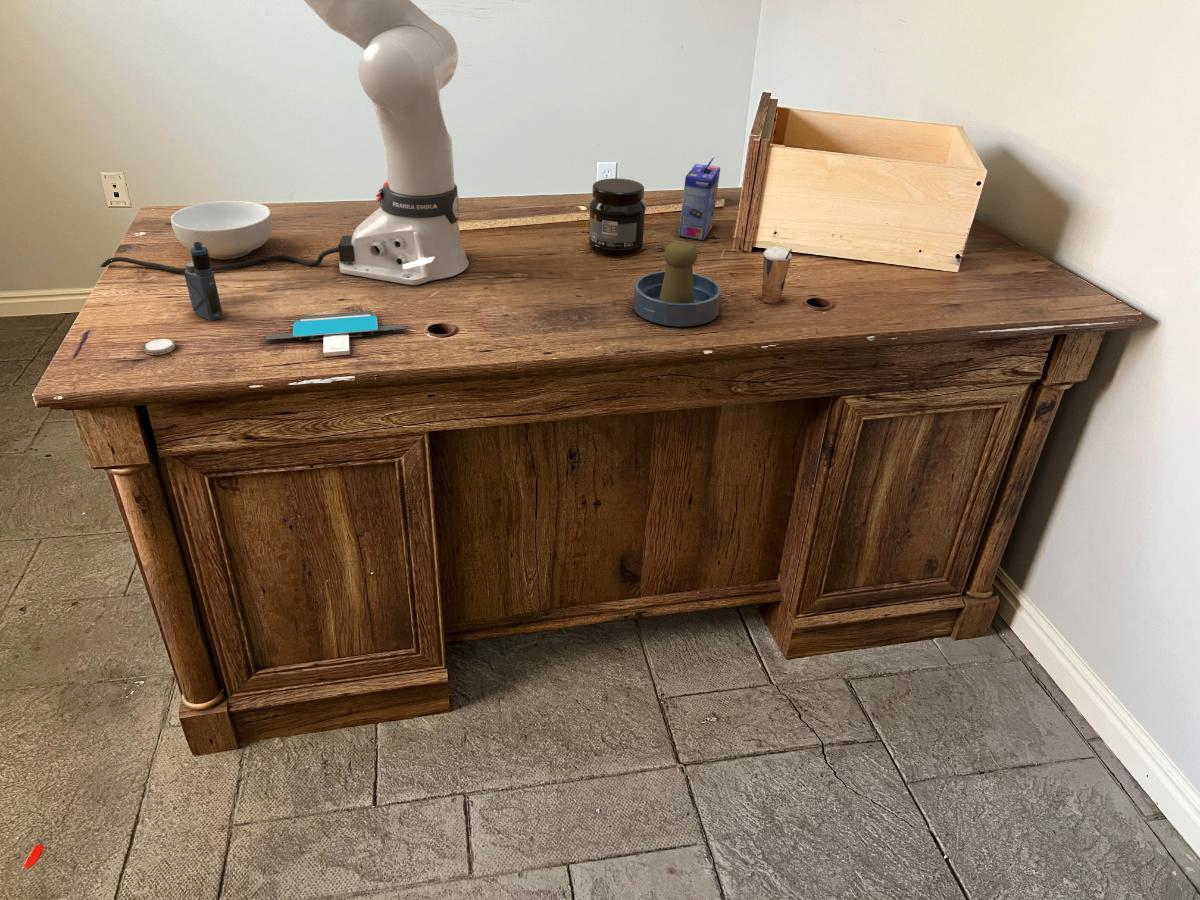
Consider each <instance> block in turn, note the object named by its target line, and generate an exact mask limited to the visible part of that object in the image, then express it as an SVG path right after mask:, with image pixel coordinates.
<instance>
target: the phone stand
mask: <svg viewBox="0 0 1200 900" xmlns="http://www.w3.org/2000/svg"><path fill="white" fill-rule="evenodd" d="M402 333H403V334H404V333H405V325H404V324H403V323H401V324H391V325H389V324H388V325H387V324H386V325H379V323H378V317H377V315H373V312H372V310H364V311H350V312H337V313H324V314H311V315H309V314H308V315H299V316H298V320H296V321H294V322H293V329H292V332H286V333H276V334H275V333H274V334H266V335H265V340H266V344H277V343H278V344H283V343H284V344H285V343H296V342H297V343H298V342H309V341H320V340H323V343H322V344H323V345H322V346H323V347H322V348H323V349H322V350H323V352H322V354H323V358H325V357H335V356H349V355H351V351H350V338H359V337H360V338H361V337H370V336H371V337H372V336H383V335H385V336H386V335H394V334H402ZM280 346H281V345H279V347H280Z"/></svg>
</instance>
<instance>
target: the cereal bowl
mask: <svg viewBox="0 0 1200 900" xmlns="http://www.w3.org/2000/svg"><path fill="white" fill-rule="evenodd" d="M170 224H171V228H172V231H173V234H174V236H175V237H176V239H177V241H178V242H179V243H180V244H181V245H182V246H183V247H184V248H186V249H188V250H189V251H190V249H192V248H194V244H193V243H195V242H201V244H202V247H206V248H207V250H208V253H207V254H209V259H210V258H211V259H214V260H232V259H238V258H242V257H245V256H247V255H249V254H250V253H251V252H253V251H254V250H257V249H258V248H260V247H262V246H263V245H265V244H266V242H267V241H268V240H269V239H270V237H271V235H272V233H273V216H272V211H271V209H270V208H269V207H268V206H266V205H265V204H261V203H258V202H253V201H245V200H216V201H215V200H214V201H208V202H200V203H196V204H192V205H188V206H185V207H182V208H180V209H178V210H176V211H175V212H174V213H173V214H172V215H171V217H170Z"/></svg>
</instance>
